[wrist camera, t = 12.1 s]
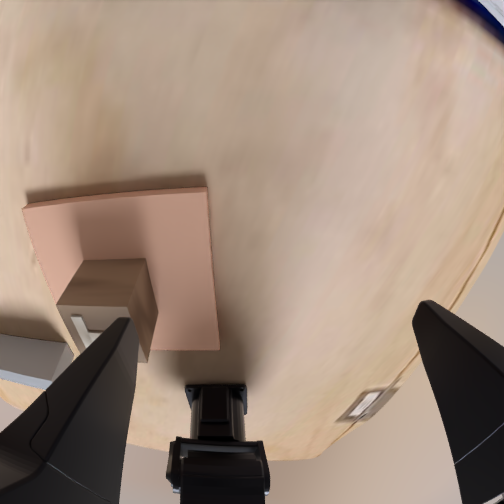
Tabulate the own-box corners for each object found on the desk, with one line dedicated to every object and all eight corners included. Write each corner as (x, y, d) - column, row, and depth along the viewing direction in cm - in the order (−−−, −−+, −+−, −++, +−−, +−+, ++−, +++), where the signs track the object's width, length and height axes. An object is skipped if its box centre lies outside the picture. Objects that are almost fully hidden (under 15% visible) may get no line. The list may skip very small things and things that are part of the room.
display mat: (219, 341, 26) (219, 350, 25) (79, 337, 25) (76, 345, 24) (207, 186, 19) (206, 192, 18) (28, 203, 18) (21, 209, 17)
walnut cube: (158, 312, 22) (146, 364, 18) (101, 311, 22) (82, 359, 18) (145, 258, 20) (126, 308, 15) (83, 260, 20) (54, 306, 15)
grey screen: (74, 355, 27) (60, 392, 22) (-8, 342, 26) (-24, 370, 21) (66, 343, 25) (51, 380, 21) (-15, 331, 25) (-32, 359, 20)
